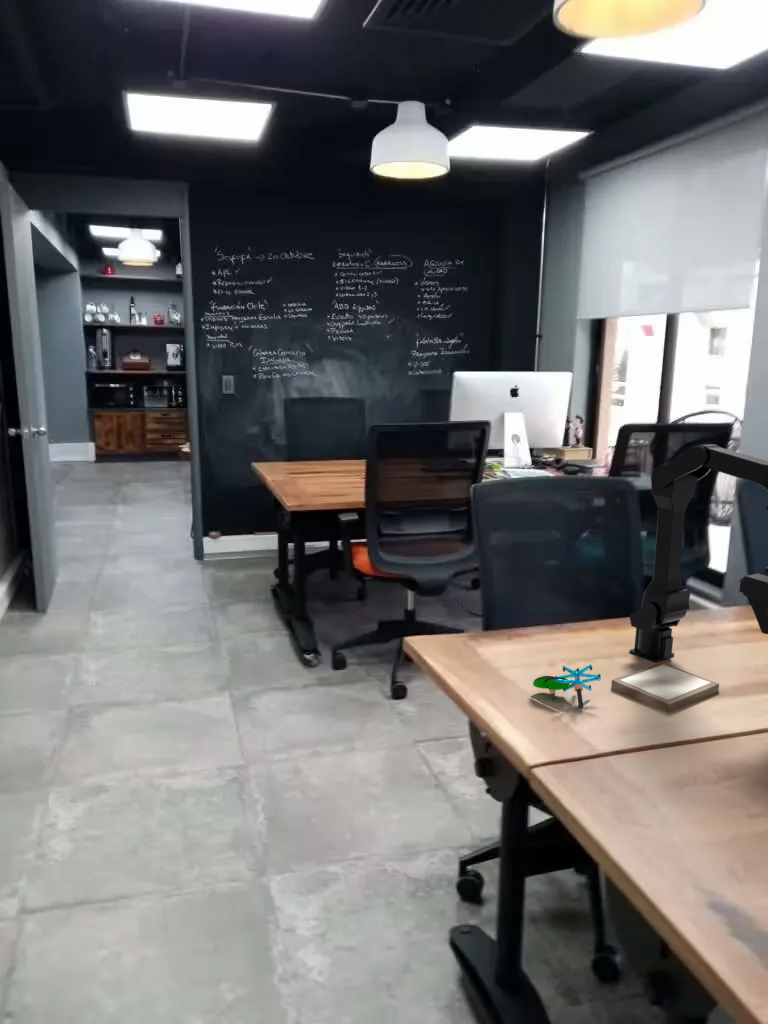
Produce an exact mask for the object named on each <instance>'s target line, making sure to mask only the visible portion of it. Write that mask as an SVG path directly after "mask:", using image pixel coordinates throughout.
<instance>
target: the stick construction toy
mask: <svg viewBox="0 0 768 1024" xmlns="http://www.w3.org/2000/svg"><path fill="white" fill-rule="evenodd" d="M588 670H590V671H593V665H592V664H589V665H587V666H585V667H583V668H581V669H580V668H576V669H574V670H573V669H572V668H571V669H570V668H569V667H566V666H565V665H563V666H562V672H568V673H569V674H565V675H559V676H557V675H555V676H552V675H543V676H540V677H537V678H535V679H534V680H533V681H532V686H533V687H535V688H538V689H545V690H546V689H547V690H549V695H550V698H551V700H552V701H555V700H556V697H555V695H556V691H560V690H561V691H562V692H563V693H566V692H567V691H569V690H571V689H572V688H573V689H574V692H576V696H577V704H578V709H579V710H580V709H581V710H582V709H584V702H583V694H582V691H584V689H586V690H587V691H590V692H591V691H592V685H590V684H589V685H587V684H585V683H590V682H591V683H592V682H596V681H598V682H599V681H600V680H602V678H601V674H600V673H598V674H592V673H591V674H590V673H585V672H586V671H588ZM571 678H574V680H573V679H571ZM581 678H585V679H581Z"/></svg>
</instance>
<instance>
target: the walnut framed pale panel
mask: <svg viewBox="0 0 768 1024" xmlns="http://www.w3.org/2000/svg"><path fill="white" fill-rule="evenodd" d="M610 687H611V689H612V690H615V691H617V692H619V693H622V694H624V695H627V696H629V697H631V698H632V699H636V700H638V701H640V702H642V703H644V704H647V705H649V706H652V707H654V708H657V709H659V710H662V711H664V712H666V713H668V714H669V713H670V714H671V713H672V712H674V711H677V710H679V709H680V708H683V707H685V706H688V705H691V704H692V703H695V702H697V701H700V700H701V699H704V698H707V697H708V696H711V695H713V694H716V693H717V692H719V688H720V683H718V682H715V681H713V680H710V679H708V678H705V677H702V676H700V675H697V674H695V673H692V672H689V671H687V670H684V669H682V668H679V667H677V666H673V665H671V664H667V663H665V662H662V661H660V662H657V663H656V664H652V665H650V666H647V667H644V668H642V669H641V668H640V669H638V670H636V671H632V672H630V673H628V674H624V675H621V676H619V677H616V678H614V679H613V678H612V679H611V686H610Z"/></svg>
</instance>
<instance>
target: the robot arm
mask: <svg viewBox="0 0 768 1024" xmlns="http://www.w3.org/2000/svg"><path fill="white" fill-rule="evenodd" d="M711 470H712V471H713V470H714V471H715V472H720V473H722V474H725V475H728V476H731V477H734V478H738V479H741V480H745V481H748V482H750V483H752V484H753V483H754V484H755V485H756V484H757V485H758V486H760V487H763V488H764V489H765V490H766V491H767V492H768V460H766V459H762V458H759V457H754V456H752V455H749V454H748V455H747V454H744V453H741V452H738V451H734V450H730V449H727V448H723V447H721V446H719V445H718V444H699V445H696V446H695V447H693V449H691V450H689V451H688V452H686V453H684V454H682V455H680V456H678V457H676V458H673V459H672V460H669V462H666V463H661V464H658V465H657V466H656V467H655V468H654V469H652V471H651V475H650V485H651V487H650V488H651V495H652V497H653V500H654V501H655V503H656V506H657V508H658V509H657V522H656V523H657V525H656V539H655V551H654V564H653V576H652V580H651V581H650V583H649V585H647V587H646V590H645V591H644V595H643V598H642V603H641V607H639V608H638V609H637V610H635V611H634V612H633V613H631V614H630V615H629V620H630V626H631V627H633V628H635V638H634V648H631V649H629V653H630V654H632V655H635V656H638V657H640V658H643V659H645V660H648V661H651V662H652V663H653V662H654V663H660V662H662V661H665V660H667V659H670V658H673V657H674V656H675V652H673V645H674V644H673V642H674V637H673V636H672V635H673V628H671V627H677V626H678V625H679V623H680V621H681V620H682V619H683V618H684V617H686V615H687V612H688V610H690V596H691V590H690V589H685V588H684V586H683V584H682V582H681V566H682V557H683V556H682V555H683V543H684V542H683V541H684V530H685V516H686V511H687V510H686V509H687V507H688V506H689V504H690V502H691V500H692V499H693V497H694V496H695V493H696V488H697V483H698V481H699V480H701V479H703V478H704V477H706V476H707V475H708V474H709V473H710V472H711ZM765 510H766V511H768V505H766V506H765ZM765 574H766V575H765ZM738 581H739V583H738V589H737V590H738V592H740V593H742V596H744V597H746V598H747V600H748V603H749V605H750V606H751V609H752V610H753V613H754V616H755V618H756V621H757V624H758V627H759V629H760V632H761V633H762V634H765V635H768V566H767V567H765V568H764V574H760V573H754V574H748V575H744V576H743V577H741V578H740V579H739V580H738Z"/></svg>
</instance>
